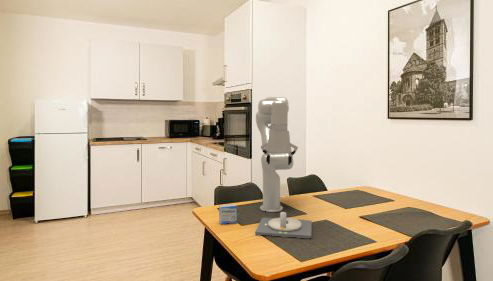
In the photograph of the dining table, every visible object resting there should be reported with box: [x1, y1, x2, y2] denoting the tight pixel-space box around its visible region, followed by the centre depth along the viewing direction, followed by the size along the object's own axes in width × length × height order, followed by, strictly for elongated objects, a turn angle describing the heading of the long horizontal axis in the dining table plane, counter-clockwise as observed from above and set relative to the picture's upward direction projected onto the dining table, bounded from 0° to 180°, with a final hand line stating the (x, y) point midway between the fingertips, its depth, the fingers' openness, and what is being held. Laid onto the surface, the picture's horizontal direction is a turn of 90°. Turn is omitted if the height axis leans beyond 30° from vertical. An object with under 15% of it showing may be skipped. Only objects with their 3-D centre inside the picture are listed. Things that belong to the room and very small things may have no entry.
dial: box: [268, 211, 301, 231], centre depth 147 cm, size 17×15×8 cm
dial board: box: [254, 217, 313, 239], centre depth 148 cm, size 20×24×2 cm
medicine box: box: [218, 203, 238, 225], centre depth 157 cm, size 8×4×9 cm, turn 105°
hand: (278, 164), depth 152 cm, fingers open, 9 cm apart
